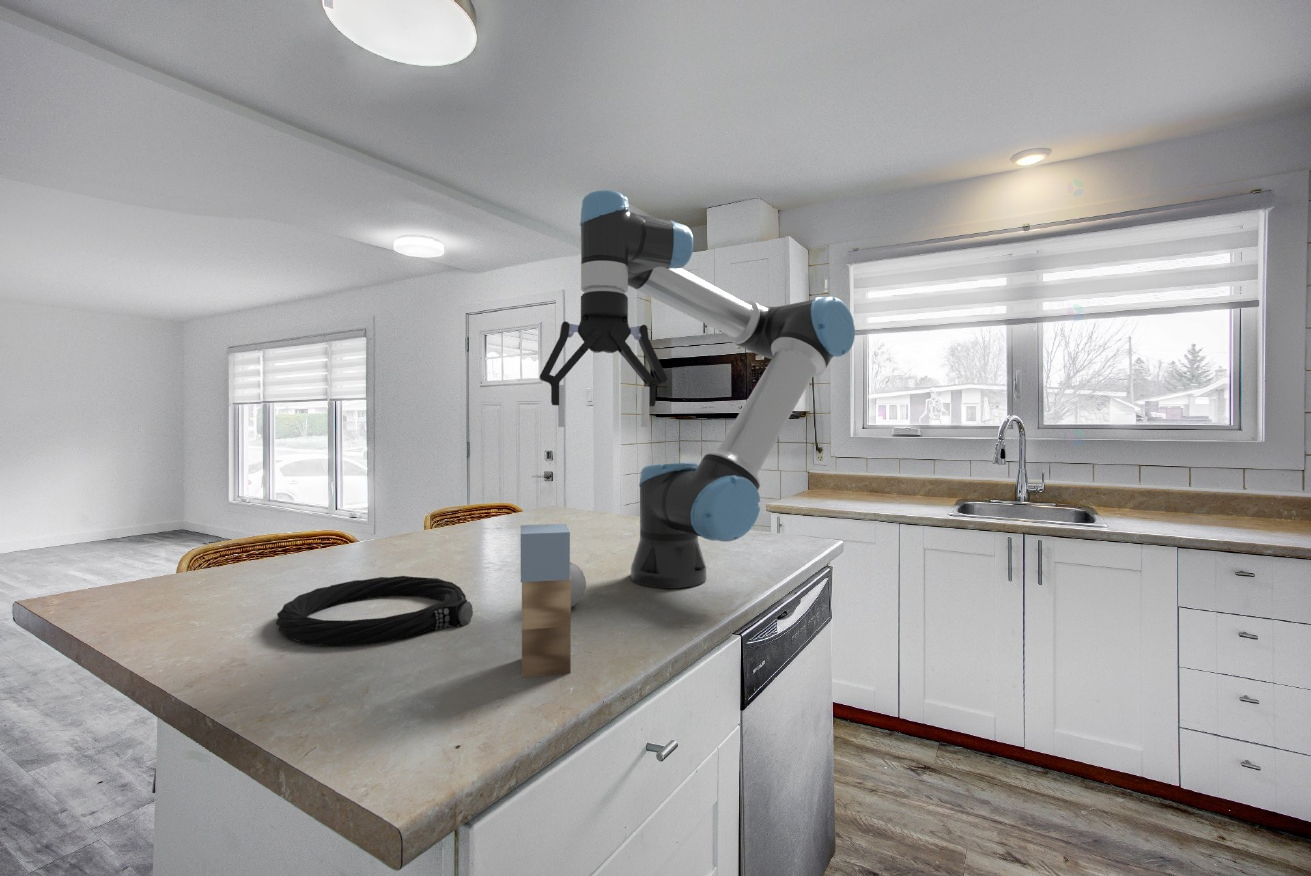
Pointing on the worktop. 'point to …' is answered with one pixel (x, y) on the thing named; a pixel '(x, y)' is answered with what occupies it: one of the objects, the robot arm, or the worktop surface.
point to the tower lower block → (546, 651)
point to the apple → (576, 583)
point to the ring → (378, 629)
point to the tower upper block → (546, 604)
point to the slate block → (545, 552)
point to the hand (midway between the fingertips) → (603, 427)
